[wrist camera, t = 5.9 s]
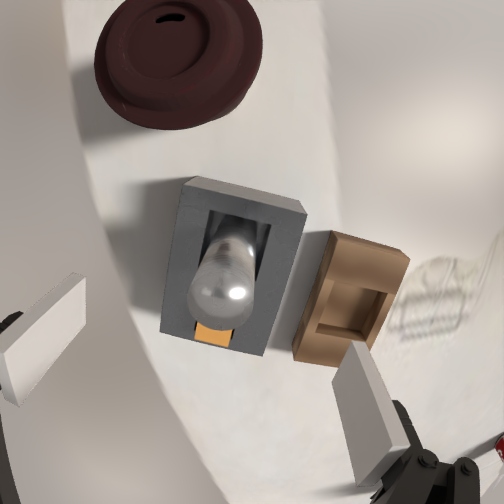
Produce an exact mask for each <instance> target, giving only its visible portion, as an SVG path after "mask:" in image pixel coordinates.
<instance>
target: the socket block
mask: <svg viewBox="0 0 504 504" xmlns="http://www.w3.org/2000/svg"><path fill="white" fill-rule="evenodd" d="M229 214H230V215H235V216H239V217H243V218H247V219H251V220H253V221H254V223H255V225H256V228H257V238H256V259H255V280H254V301H253V310H252V313H251V315H250V317H249V318H248V320H247V321H246V322H245V323H244V324H242V325H241V326H239V327H237V328H235V329H233V330H232V333H231V337H230V341H229V345H228V347H225V346H221V345H217V344H212V343H208V342H204V341H200V340H196V339H194V338H195V333H196V327H197V321H196V320H195V319H194V317H193V316H192V315H191V313H190V311H189V309H188V306H187V293H188V290H189V287H190V285H191V283H192V281H193V279H194V277H195V275H196V272H197V270H198V268H199V266H200V264H201V262H202V260H203V258H204V255H205V253H206V251H207V249H208V247H209V245H210V243H211V241H212V239H213V237H214V235H215V232H216V230H217V228H218V226H219V224H220V222H221V221H222V219H223V218H224V217H225V216H227V215H229ZM307 215H308V214H307V213H306V211H305V210H304V208H303V206H302V205H301V203H300V202H299V201H298V200H294V199H291V198H287V197H283V196H279V195H275V194H271V193H267V192H263V191H259V190H255V189H251V188H247V187H243V186H239V185H235V184H230V183H226V182H222V181H217V180H213V179H209V178H204V177H200V176H196V177H195V178H193V179H191V180H189V181H188V182H186V183H184V184H183V186H182V191H181V196H180V202H179V207H178V212H177V218H176V223H175V229H174V235H173V240H172V246H171V252H170V259H169V265H168V272H167V278H166V285H165V292H164V300H163V307H162V315H161V323H160V332H161V333H165V334H169V335H172V336H176V337H180V338H184V339H188V340H192V341H196V342H200V343H204V344H208V345H212V346H216V347H221V348H225V349H230V350H234V351H239V352H243V353H248V354H253V355H258V356H263V354H264V351H265V348H266V345H267V342H268V339H269V336H270V333H271V330H272V327H273V324H274V321H275V318H276V315H277V312H278V309H279V305H280V302H281V299H282V296H283V293H284V290H285V287H286V284H287V280H288V277H289V274H290V271H291V268H292V264H293V261H294V258H295V255H296V251H297V248H298V245H299V242H300V238H301V235H302V232H303V228H304V225H305V221H306V218H307Z"/></svg>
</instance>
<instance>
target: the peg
mask: <svg viewBox="0 0 504 504" xmlns="http://www.w3.org/2000/svg"><path fill="white" fill-rule="evenodd" d="M256 238H257V228H256V225H255V223H254V221H253V220H251V219H247V218H243V217H239V216H235V215H230V214H229V215H227V216H225V217H224V218H223V219H222V221H221V222H220V224H219V226H218V228H217V230H216V232H215V235H214V237H213V239H212V241H211V243H210V245H209V247H208V249H207V251H206V253H205V255H204V258H203V260H202V262H201V264H200V266H199V268H198V270H197V272H196V275H195V277H194V279H193V281H192V283H191V285H190V287H189V290H188V293H187V306H188V309H189V311H190V313H191V315H192V316H193V317H194V319H195V320H196V321H197V322H199V323H200V324H201V325H203V326H205V327H207V328H209V329H212V330H217V331H227V330H232V329H235V328H237V327H239V326H241V325H242V324H244V323H245V322H246V321H247V320H248V318H249V317H250V315H251V313H252V310H253V301H254V280H255V259H256Z"/></svg>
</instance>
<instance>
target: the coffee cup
mask: <svg viewBox="0 0 504 504" xmlns="http://www.w3.org/2000/svg"><path fill="white" fill-rule="evenodd" d="M262 48H263V40H262V30H261V25H260V22H259V19H258V17H257V15H256V13H255V11H254V9H253V7H252V6H251V4H250V3H249V2H248V1H247V0H125V1H124V2H123V3H122V4H121V5H120V6H119V7H118V8H117V9H116V10H115V12H114V13H113V14H112V15H111V17H110V18H109V20H108V21H107V23H106V24H105V26H104V28H103V30H102V32H101V34H100V37H99V39H98V42H97V46H96V50H95V59H94V69H95V77H96V81H97V84H98V88H99V90H100V92H101V94H102V96H103V98H104V99H105V101H106V102H107V103H108V105H109V106H110V107H111V108H112V109H113V110H114V111H115V112H116V113H117V114H118V115H120V116H121V117H123V118H124V119H126V120H127V121H130V122H132V123H134V124H136V125H139V126H142V127H146V128H151V129H159V130H182V129H187V128H193V127H196V126H199V125H202V124H205V123H207V122H210V121H213V120H216V119H218V118H221V117H223V116H225V115H227V114H229V113H230V112H232V111H233V110H234V109H235V108H236V107H237V106H238V105H239V104H240V102H241V101H242V100H243V98H244V97H245V95H246V93H247V91H248V89H249V88H250V86H251V85H252V83H253V81H254V79H255V77H256V75H257V72H258V70H259V66H260V63H261V58H262Z"/></svg>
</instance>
